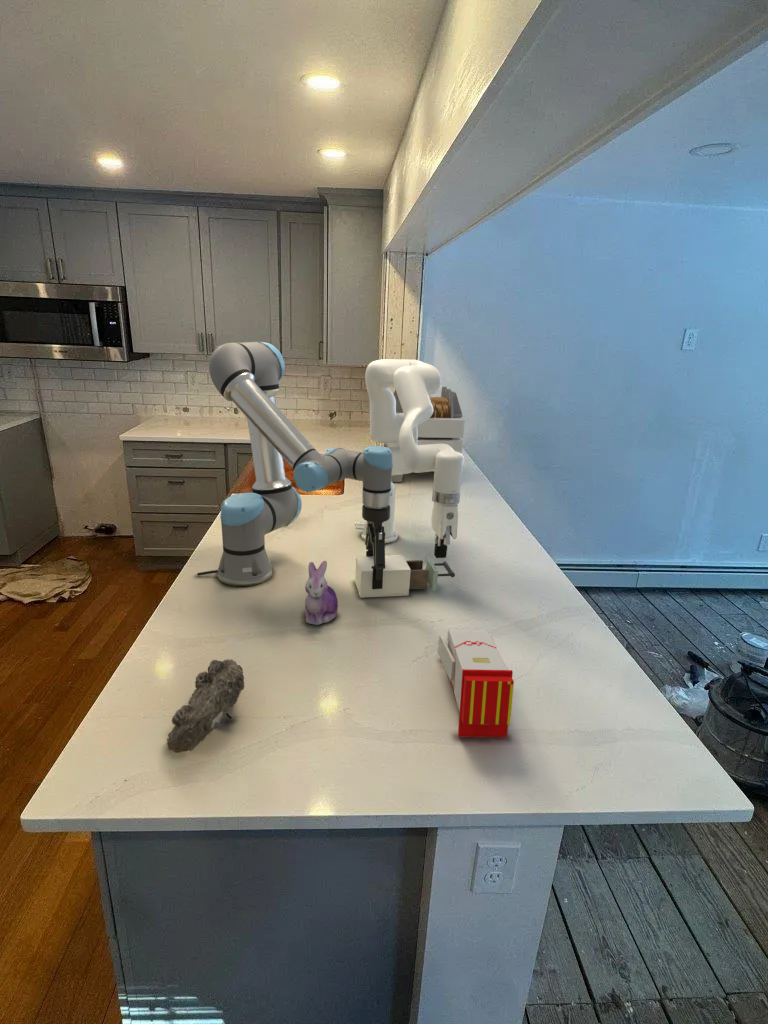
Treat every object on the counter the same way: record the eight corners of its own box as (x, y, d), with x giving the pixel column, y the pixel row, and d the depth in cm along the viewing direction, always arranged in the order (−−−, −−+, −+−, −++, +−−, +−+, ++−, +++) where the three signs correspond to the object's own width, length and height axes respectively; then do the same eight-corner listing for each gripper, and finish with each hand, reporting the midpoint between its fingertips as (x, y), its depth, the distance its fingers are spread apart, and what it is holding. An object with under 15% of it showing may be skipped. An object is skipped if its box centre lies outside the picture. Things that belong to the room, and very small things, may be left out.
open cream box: (401, 579, 166) (402, 555, 164) (408, 595, 157) (410, 569, 155) (355, 581, 163) (356, 556, 161) (360, 597, 155) (361, 571, 152)
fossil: (192, 660, 117) (244, 628, 112) (224, 691, 120) (276, 661, 115) (142, 746, 98) (202, 712, 93) (182, 779, 101) (242, 748, 96)
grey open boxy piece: (382, 463, 289) (386, 382, 275) (445, 464, 293) (451, 384, 279) (390, 482, 257) (394, 392, 243) (460, 483, 261) (468, 394, 247)
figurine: (310, 630, 138) (310, 574, 133) (296, 610, 147) (296, 557, 141) (346, 622, 142) (347, 568, 137) (330, 603, 151) (331, 552, 146)
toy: (488, 613, 130) (523, 677, 101) (484, 667, 133) (517, 744, 104) (435, 612, 130) (455, 676, 101) (432, 666, 133) (451, 743, 103)
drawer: (445, 576, 168) (447, 557, 166) (454, 589, 160) (456, 569, 158) (386, 578, 164) (388, 559, 162) (392, 592, 157) (394, 572, 155)
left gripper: (399, 518, 142) (395, 598, 149) (382, 491, 162) (379, 562, 170) (369, 520, 140) (367, 599, 148) (356, 492, 161) (354, 563, 168)
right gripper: (468, 505, 149) (460, 568, 155) (450, 487, 162) (444, 545, 169) (440, 506, 147) (434, 569, 154) (425, 487, 161) (420, 546, 167)
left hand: (373, 579), depth 159 cm, fingers closed on open cream box, 10 cm apart
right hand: (440, 556), depth 161 cm, fingers closed
